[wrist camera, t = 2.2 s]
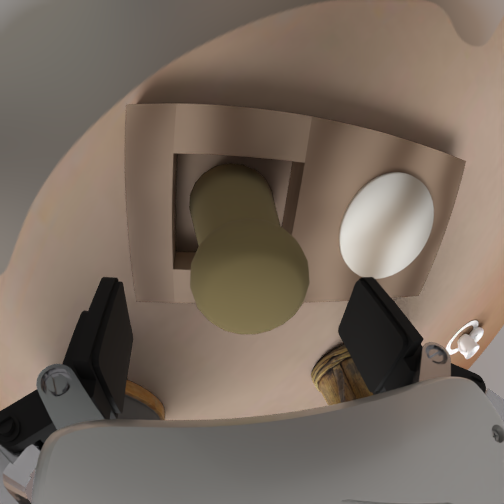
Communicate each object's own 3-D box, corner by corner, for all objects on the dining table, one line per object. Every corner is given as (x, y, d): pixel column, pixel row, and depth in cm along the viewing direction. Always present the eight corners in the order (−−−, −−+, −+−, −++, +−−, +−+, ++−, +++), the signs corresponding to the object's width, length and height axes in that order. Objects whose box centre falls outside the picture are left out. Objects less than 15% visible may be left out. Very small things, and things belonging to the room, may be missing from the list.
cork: (258, 248, 23) (295, 358, 13) (181, 232, 21) (168, 345, 12) (284, 175, 20) (354, 252, 11) (200, 154, 18) (195, 215, 9)
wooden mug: (346, 308, 28) (430, 465, 12) (384, 356, 34) (442, 465, 19) (276, 354, 30) (321, 513, 14) (330, 391, 36) (372, 501, 20)
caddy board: (447, 153, 21) (468, 162, 18) (406, 281, 27) (420, 297, 25) (136, 103, 16) (124, 104, 13) (141, 282, 23) (135, 304, 20)
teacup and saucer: (483, 322, 38) (495, 336, 34) (456, 354, 41) (466, 369, 37) (467, 314, 35) (481, 331, 31) (437, 351, 38) (449, 368, 34)
